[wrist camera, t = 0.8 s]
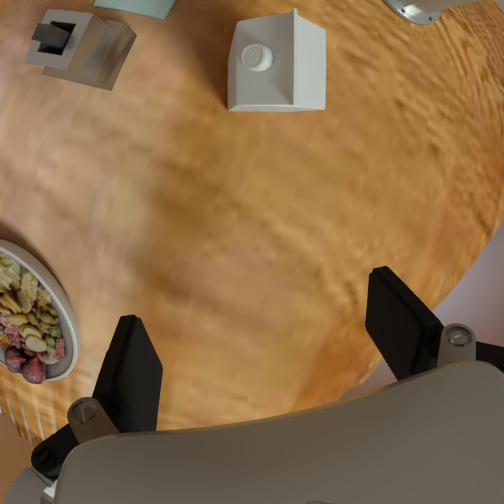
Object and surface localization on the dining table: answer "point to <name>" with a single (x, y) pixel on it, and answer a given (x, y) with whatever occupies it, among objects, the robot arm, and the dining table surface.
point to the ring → (71, 42)
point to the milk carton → (277, 65)
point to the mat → (139, 7)
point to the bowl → (34, 319)
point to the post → (106, 62)
